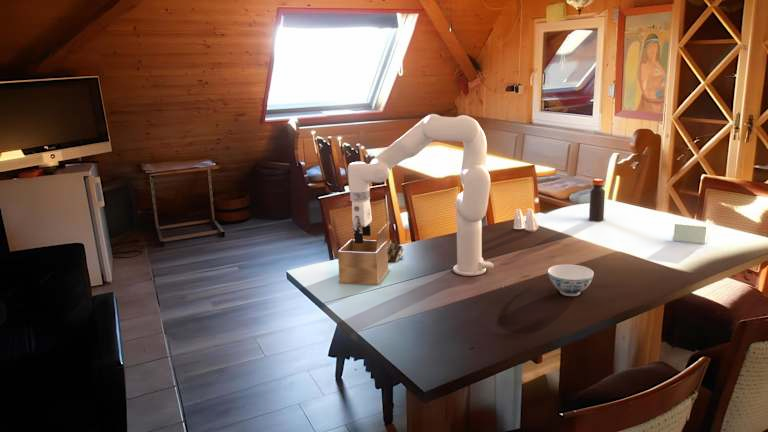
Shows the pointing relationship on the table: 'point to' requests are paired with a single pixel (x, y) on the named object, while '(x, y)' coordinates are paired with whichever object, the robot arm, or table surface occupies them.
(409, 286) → the table surface
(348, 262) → the carton
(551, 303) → the table surface
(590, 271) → the chinaware
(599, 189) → the bottle
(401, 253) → the chocolate cake
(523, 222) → the shaker set
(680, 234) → the l-shaped corner panel
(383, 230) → the flap
